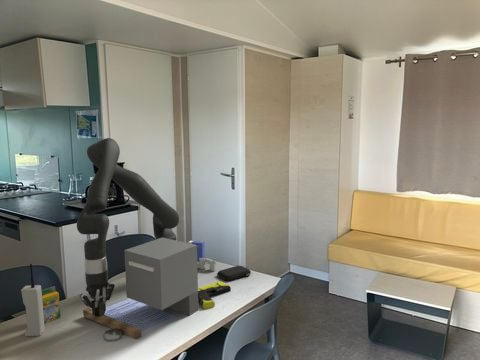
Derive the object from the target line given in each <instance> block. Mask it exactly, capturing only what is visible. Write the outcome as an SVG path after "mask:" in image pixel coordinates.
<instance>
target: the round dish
mask: <svg viewBox="0 0 480 360" xmlns="http://www.w3.org/2000/svg"><path fill="white" fill-rule="evenodd" d="M122 338H123V333H122V330H121V329H117V328H115V329H112V328H109V329H108V330H106V331H104V333H103V340H104V341H105V342H110V343H111V342H116V341H119V340H120V339H122Z"/></svg>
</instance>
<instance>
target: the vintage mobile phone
mask: <svg viewBox="0 0 480 360" xmlns="http://www.w3.org/2000/svg"><path fill="white" fill-rule="evenodd" d="M29 266H30V267H29V268H30V269H29V270H30V284H31V285H24V286H23V288H22V289H20V292H21V296H22V303H23V305H24V306H25V313H26V314H25V316H26V326H27V327H26V330H25V333H24V335H25V337H38V336H39V337H40V336H41V335H42V334H43V333H44V332H45V330H46V329H45V328H46V327H45V323H44V315H43V303H42V293H43V292H42V291H41V290H42V286H41V284H36V285H35V280H34V279H35V278H34V273H33V272H34V270H33V264H32V263H30V264H29Z"/></svg>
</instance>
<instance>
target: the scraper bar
mask: <svg viewBox="0 0 480 360" xmlns="http://www.w3.org/2000/svg"><path fill="white" fill-rule="evenodd" d="M98 309H99V316H98V317H95V316H94V315H93V314H92V308H90V307H86V308H84V309H82V314H83V315H82V316H83V317H84V318H87V319H89V320H91V321H93V322H96V323H98V324H100V325H103V326H105V327H107V328H109V329H115V328H117V329H121V330H122V335H123V334H124V335H126V336H129V337H131V338H133V339H135V340H138V339H139V338H141V337H142V329H139V328H138V327H135V326H133V325H130V324H128V323H125V322H123V321H121V320H118V319H116V318H114V317H111V316H109V315H106V314H105V313H104V302H103V301H101V300H99V301H98Z"/></svg>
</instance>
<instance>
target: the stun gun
mask: <svg viewBox="0 0 480 360" xmlns="http://www.w3.org/2000/svg"><path fill="white" fill-rule="evenodd" d="M228 292H231V285H229V284H227V283H224V282H223V281H222V280H221V281H217V282H213V283H209V284H206V285H203V286H201V287H198V304H199V305H200V306H201V307H202V308H203V309H204V310H205V309H206V310H207V309H212V308H214V307H216V303H215V301H214V300H213V299H212V297H216V296H220V295H222V294H223V295H224V294H226V293H228Z"/></svg>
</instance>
